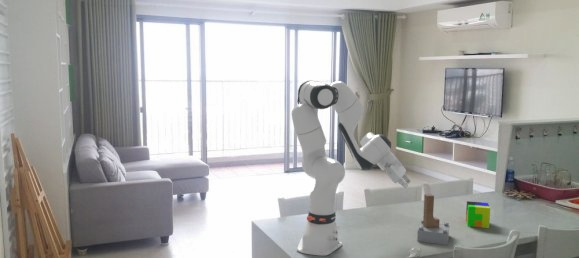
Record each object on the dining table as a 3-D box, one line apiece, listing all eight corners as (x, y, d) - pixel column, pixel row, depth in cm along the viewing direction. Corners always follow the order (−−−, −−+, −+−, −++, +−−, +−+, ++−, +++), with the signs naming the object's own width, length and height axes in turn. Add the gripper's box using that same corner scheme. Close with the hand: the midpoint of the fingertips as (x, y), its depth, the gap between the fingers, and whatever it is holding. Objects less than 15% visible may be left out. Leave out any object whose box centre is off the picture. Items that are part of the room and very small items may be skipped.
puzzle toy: (486, 221, 246) (487, 202, 244) (489, 228, 236) (490, 208, 235) (465, 220, 248) (466, 201, 247) (467, 226, 239) (468, 206, 237)
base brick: (447, 244, 213) (448, 231, 212) (417, 240, 217) (417, 227, 216) (448, 235, 225) (449, 222, 224) (420, 231, 229) (420, 219, 228)
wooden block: (426, 228, 219) (427, 196, 218) (422, 225, 223) (424, 194, 221) (439, 227, 221) (440, 195, 219) (435, 224, 224) (437, 193, 222)
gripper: (389, 161, 214) (410, 185, 211) (396, 154, 233) (415, 176, 230) (378, 170, 216) (399, 194, 214) (386, 162, 235) (405, 184, 232)
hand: (408, 184), depth 222 cm, fingers open, 8 cm apart
